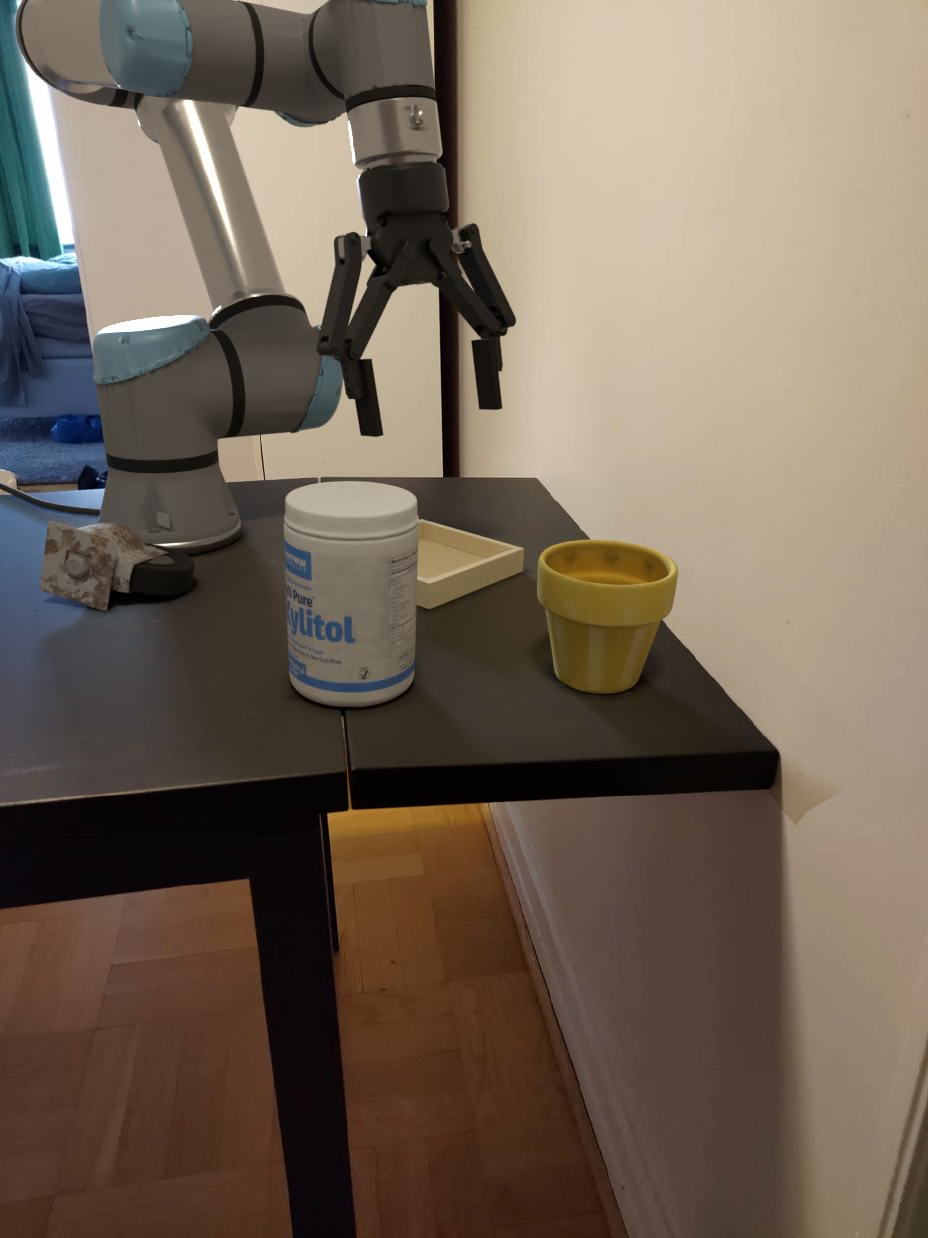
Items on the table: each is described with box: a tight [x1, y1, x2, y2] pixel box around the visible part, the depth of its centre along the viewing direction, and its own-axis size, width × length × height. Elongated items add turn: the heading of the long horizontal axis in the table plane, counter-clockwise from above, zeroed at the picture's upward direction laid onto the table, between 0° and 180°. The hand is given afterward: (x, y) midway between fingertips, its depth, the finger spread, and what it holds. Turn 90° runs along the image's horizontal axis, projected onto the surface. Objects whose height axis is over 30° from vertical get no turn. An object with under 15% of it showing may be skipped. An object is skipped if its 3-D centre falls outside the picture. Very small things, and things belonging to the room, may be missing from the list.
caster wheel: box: [39, 520, 196, 612], centre depth 80 cm, size 7×11×10 cm
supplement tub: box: [283, 480, 420, 708], centre depth 62 cm, size 10×10×15 cm
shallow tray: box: [416, 518, 525, 610], centre depth 88 cm, size 15×15×3 cm
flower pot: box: [536, 539, 679, 695], centre depth 66 cm, size 10×10×10 cm
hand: (434, 422), depth 79 cm, fingers open, 13 cm apart
